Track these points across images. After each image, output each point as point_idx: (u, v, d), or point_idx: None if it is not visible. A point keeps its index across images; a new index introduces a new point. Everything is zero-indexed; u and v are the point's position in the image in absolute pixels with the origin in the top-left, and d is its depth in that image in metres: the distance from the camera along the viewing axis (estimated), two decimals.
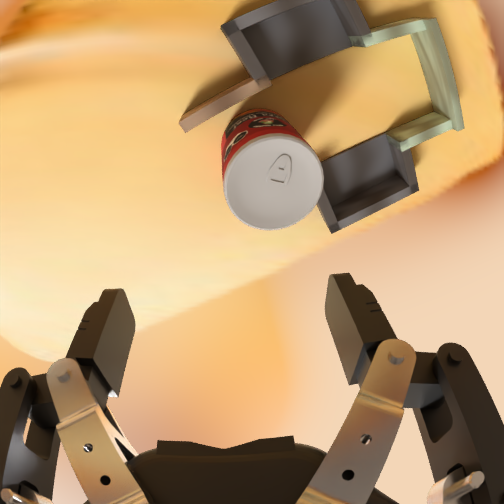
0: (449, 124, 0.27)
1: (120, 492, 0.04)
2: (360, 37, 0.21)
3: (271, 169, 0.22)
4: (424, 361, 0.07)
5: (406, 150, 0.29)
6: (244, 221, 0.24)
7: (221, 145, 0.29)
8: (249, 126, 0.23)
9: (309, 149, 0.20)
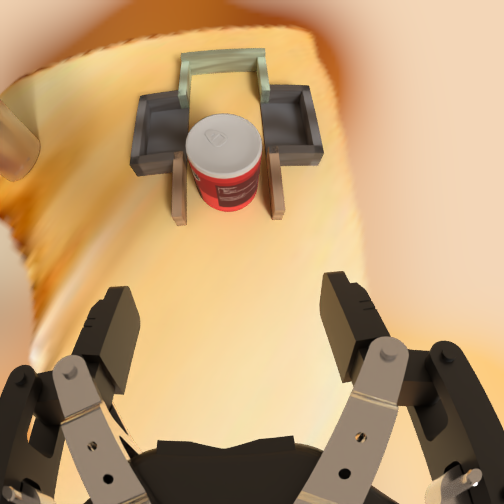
0: (260, 58, 0.41)
1: (123, 491, 0.04)
2: (179, 96, 0.39)
3: (210, 142, 0.29)
4: (417, 359, 0.08)
5: (270, 87, 0.40)
6: (239, 170, 0.28)
7: (211, 205, 0.37)
8: None
9: (209, 116, 0.30)
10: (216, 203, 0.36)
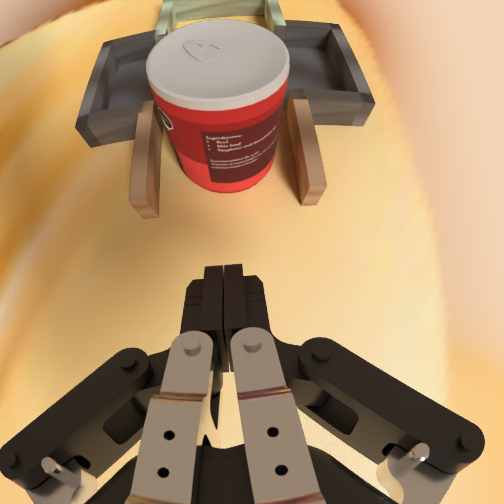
0: None
1: (170, 490, 0.04)
2: (155, 37, 0.24)
3: (193, 55, 0.14)
4: (292, 354, 0.08)
5: (286, 22, 0.24)
6: (249, 93, 0.13)
7: (199, 182, 0.22)
8: None
9: (192, 23, 0.14)
10: (206, 175, 0.20)
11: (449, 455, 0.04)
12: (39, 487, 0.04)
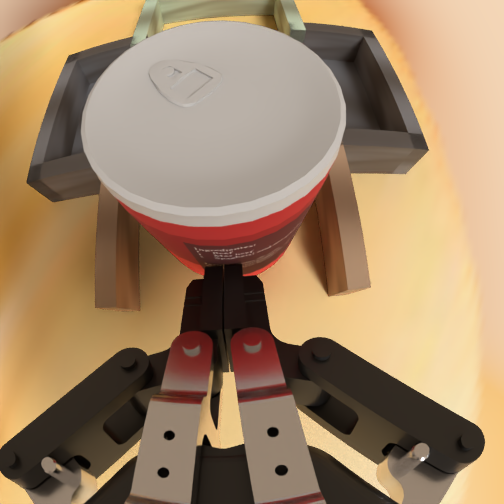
0: None
1: (170, 490, 0.04)
2: None
3: (164, 93, 0.08)
4: (292, 354, 0.08)
5: (305, 26, 0.18)
6: (275, 193, 0.07)
7: (190, 268, 0.16)
8: None
9: (166, 30, 0.08)
10: (200, 270, 0.14)
11: (449, 455, 0.04)
12: (39, 487, 0.04)
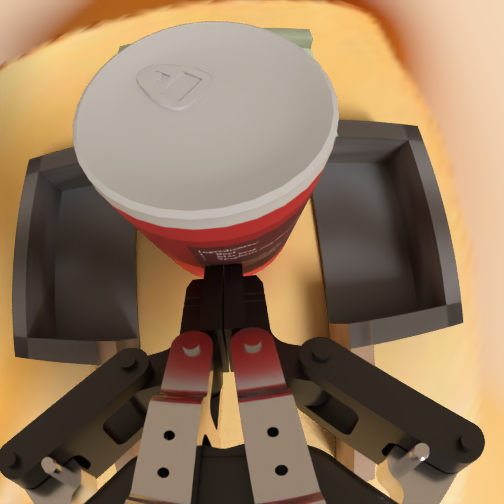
0: None
1: (169, 490, 0.04)
2: None
3: (155, 98, 0.08)
4: (292, 354, 0.08)
5: None
6: (278, 189, 0.07)
7: (191, 272, 0.16)
8: None
9: (150, 35, 0.08)
10: (202, 272, 0.14)
11: (449, 455, 0.04)
12: (39, 487, 0.04)
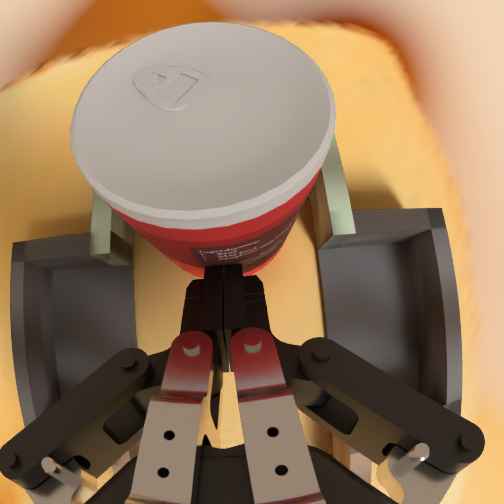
0: None
1: (169, 490, 0.04)
2: (94, 255, 0.14)
3: (152, 100, 0.08)
4: (292, 354, 0.08)
5: (355, 220, 0.15)
6: (278, 187, 0.07)
7: (191, 273, 0.16)
8: None
9: (145, 37, 0.08)
10: (202, 273, 0.14)
11: (449, 455, 0.04)
12: (39, 487, 0.04)
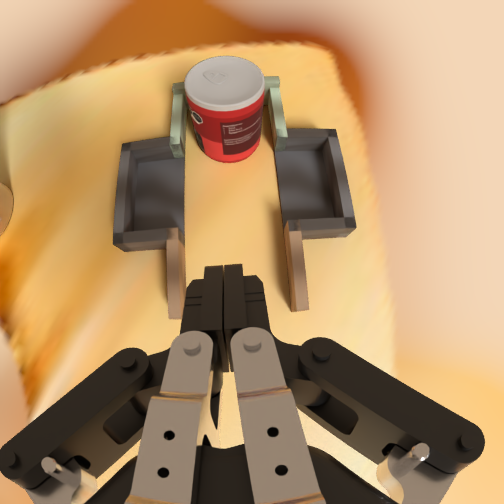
0: (274, 89, 0.34)
1: (170, 490, 0.04)
2: (171, 146, 0.32)
3: (210, 80, 0.26)
4: (292, 354, 0.08)
5: (287, 132, 0.33)
6: (245, 100, 0.25)
7: (214, 156, 0.34)
8: None
9: None
10: (220, 150, 0.32)
11: (449, 455, 0.04)
12: (39, 487, 0.04)
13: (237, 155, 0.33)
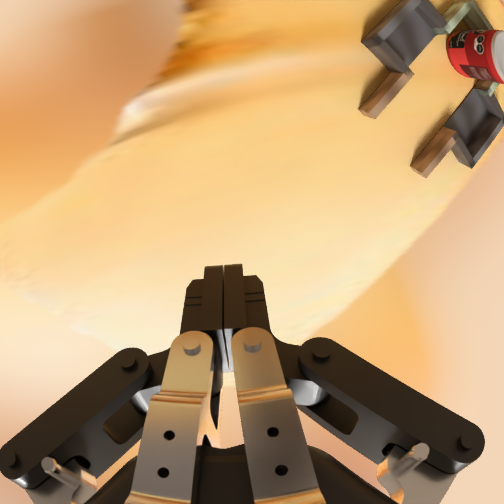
0: None
1: (170, 490, 0.04)
2: (443, 28, 0.25)
3: None
4: (292, 354, 0.08)
5: (492, 95, 0.30)
6: None
7: (452, 57, 0.29)
8: (477, 34, 0.22)
9: None
10: (461, 63, 0.28)
11: (449, 455, 0.04)
12: (39, 487, 0.04)
13: (462, 72, 0.30)
